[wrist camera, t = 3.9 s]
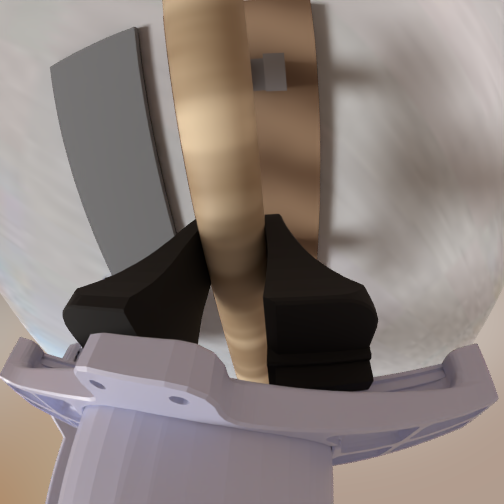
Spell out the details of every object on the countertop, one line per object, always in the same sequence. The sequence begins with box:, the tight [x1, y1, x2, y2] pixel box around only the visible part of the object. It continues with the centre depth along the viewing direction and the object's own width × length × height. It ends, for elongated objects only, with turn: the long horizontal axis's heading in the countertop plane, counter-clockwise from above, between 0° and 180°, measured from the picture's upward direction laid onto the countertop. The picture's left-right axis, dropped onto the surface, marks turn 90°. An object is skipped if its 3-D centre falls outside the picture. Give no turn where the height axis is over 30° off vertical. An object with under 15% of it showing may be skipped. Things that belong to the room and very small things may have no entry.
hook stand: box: [163, 0, 320, 298], centre depth 18 cm, size 26×10×6 cm, turn 5°
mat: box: [50, 27, 176, 275], centre depth 21 cm, size 26×9×1 cm, turn 5°
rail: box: [162, 0, 269, 384], centre depth 11 cm, size 22×2×2 cm, turn 5°
